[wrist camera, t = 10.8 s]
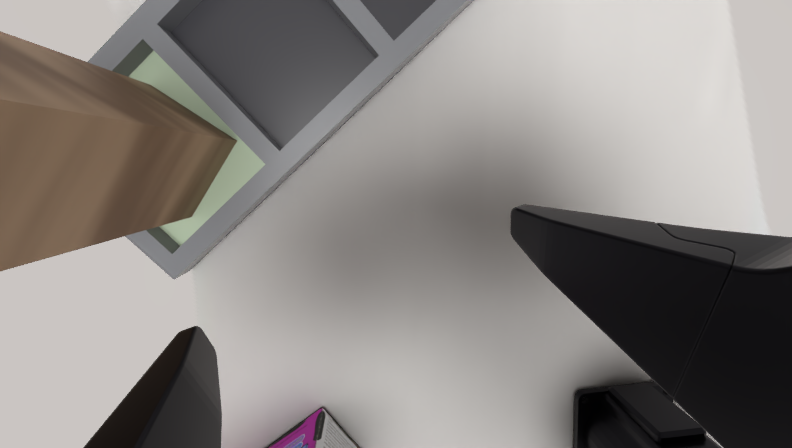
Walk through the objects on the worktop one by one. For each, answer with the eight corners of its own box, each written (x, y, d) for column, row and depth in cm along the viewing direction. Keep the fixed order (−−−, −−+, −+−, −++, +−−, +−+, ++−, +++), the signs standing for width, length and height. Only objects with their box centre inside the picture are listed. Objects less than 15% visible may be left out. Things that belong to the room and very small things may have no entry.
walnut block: (237, 140, 18) (-333, 41, 4) (191, 217, 19) (-467, 403, 4) (151, 85, 18) (-1004, -325, 3) (106, 166, 18) (-1061, 171, 3)
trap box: (388, -218, 16) (390, -256, 15) (516, -41, 18) (529, -60, 16) (44, 140, 18) (14, 138, 17) (189, 270, 20) (173, 279, 18)
